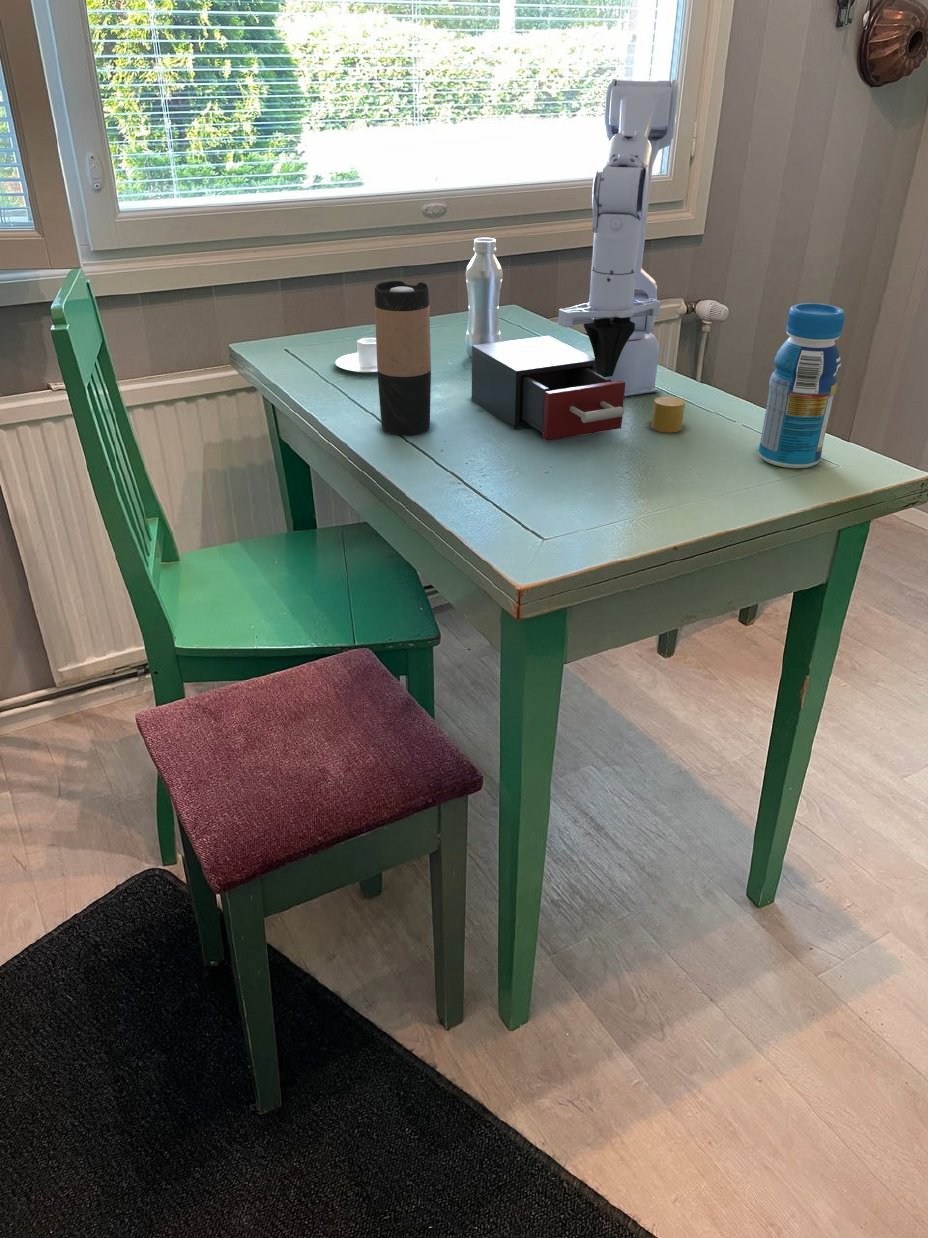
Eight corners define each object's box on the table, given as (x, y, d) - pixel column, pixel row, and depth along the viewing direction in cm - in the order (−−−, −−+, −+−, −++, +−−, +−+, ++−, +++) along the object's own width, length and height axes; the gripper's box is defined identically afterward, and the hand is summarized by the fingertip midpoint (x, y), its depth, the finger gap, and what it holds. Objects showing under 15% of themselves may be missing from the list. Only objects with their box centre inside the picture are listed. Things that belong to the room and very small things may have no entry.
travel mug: (392, 439, 133) (387, 294, 123) (371, 423, 139) (364, 283, 129) (440, 431, 136) (439, 288, 126) (418, 415, 142) (415, 277, 132)
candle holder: (401, 376, 159) (401, 350, 156) (331, 375, 159) (329, 350, 157) (407, 356, 169) (406, 332, 167) (340, 355, 169) (339, 331, 167)
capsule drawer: (639, 439, 132) (645, 391, 128) (563, 452, 127) (566, 404, 124) (572, 400, 146) (575, 357, 142) (502, 411, 141) (503, 366, 138)
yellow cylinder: (669, 420, 141) (673, 394, 139) (687, 430, 137) (691, 403, 135) (645, 424, 139) (648, 398, 137) (662, 434, 136) (666, 407, 134)
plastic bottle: (507, 356, 169) (511, 238, 159) (488, 365, 164) (491, 244, 154) (477, 350, 172) (479, 234, 161) (457, 359, 167) (458, 240, 157)
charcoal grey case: (593, 415, 142) (598, 359, 138) (514, 429, 137) (516, 370, 133) (545, 388, 154) (548, 335, 149) (471, 399, 149) (471, 345, 144)
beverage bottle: (743, 455, 129) (768, 306, 118) (782, 442, 133) (810, 297, 123) (794, 475, 123) (826, 320, 113) (833, 461, 127) (867, 310, 117)
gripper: (581, 281, 114) (574, 390, 122) (678, 271, 120) (666, 375, 127) (552, 270, 120) (547, 374, 127) (647, 260, 125) (636, 361, 132)
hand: (604, 374), depth 127 cm, fingers closed
